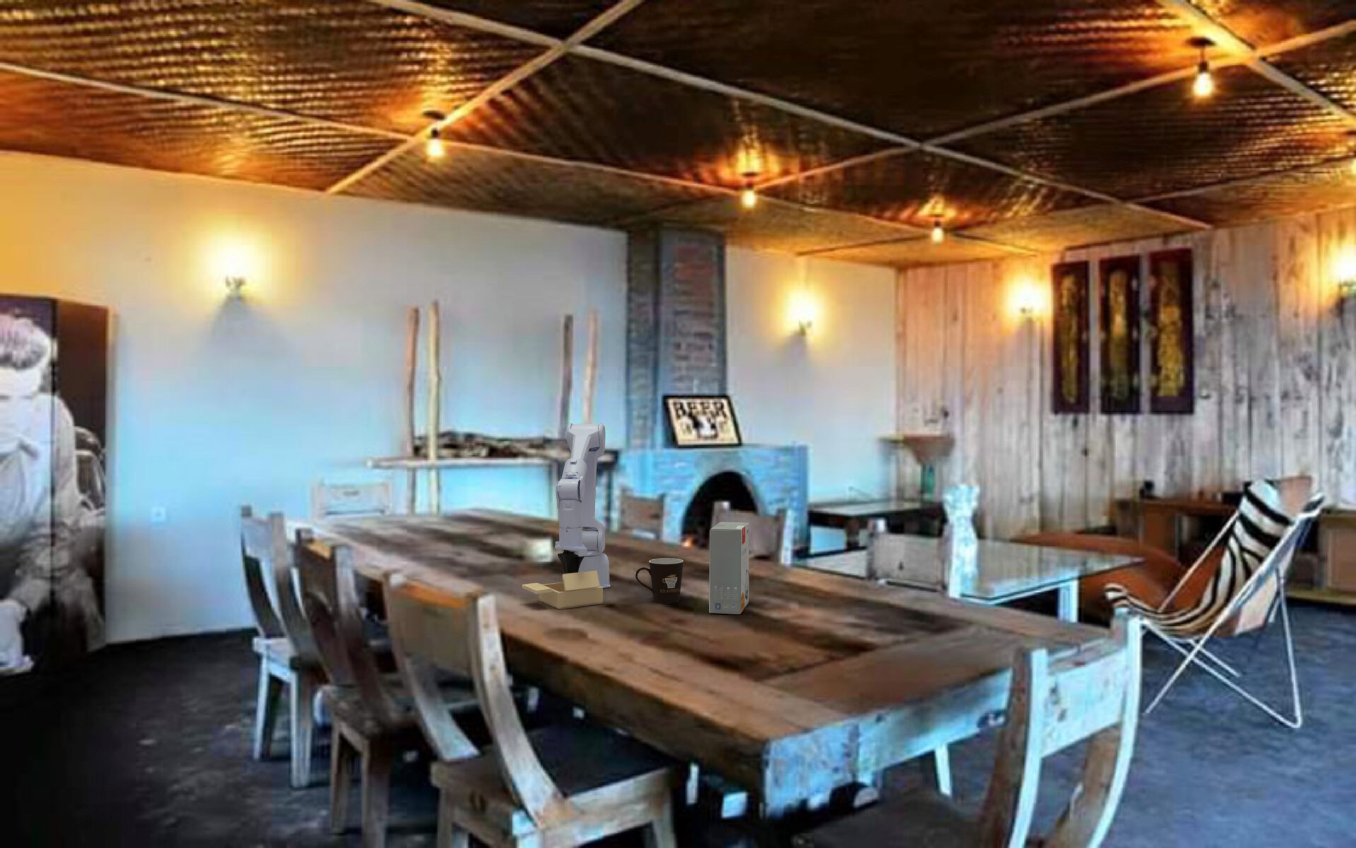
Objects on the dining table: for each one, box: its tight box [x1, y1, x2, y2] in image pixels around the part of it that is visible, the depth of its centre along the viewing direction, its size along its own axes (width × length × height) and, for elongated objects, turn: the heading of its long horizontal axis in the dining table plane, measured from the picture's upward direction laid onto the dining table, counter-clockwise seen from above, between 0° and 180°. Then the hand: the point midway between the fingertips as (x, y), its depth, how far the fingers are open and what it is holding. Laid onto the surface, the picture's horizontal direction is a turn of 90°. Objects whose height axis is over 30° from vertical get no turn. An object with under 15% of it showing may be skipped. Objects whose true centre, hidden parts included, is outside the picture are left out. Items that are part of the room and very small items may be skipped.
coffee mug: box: [634, 557, 684, 605], centre depth 235 cm, size 12×9×10 cm
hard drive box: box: [708, 521, 750, 615], centre depth 226 cm, size 16×8×20 cm, turn 168°
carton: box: [538, 581, 604, 610], centre depth 234 cm, size 12×12×4 cm
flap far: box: [521, 582, 552, 595], centre depth 230 cm, size 4×9×1 cm, turn 31°
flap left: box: [561, 571, 600, 591], centre depth 229 cm, size 9×4×1 cm
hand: (571, 581), depth 234 cm, fingers closed
